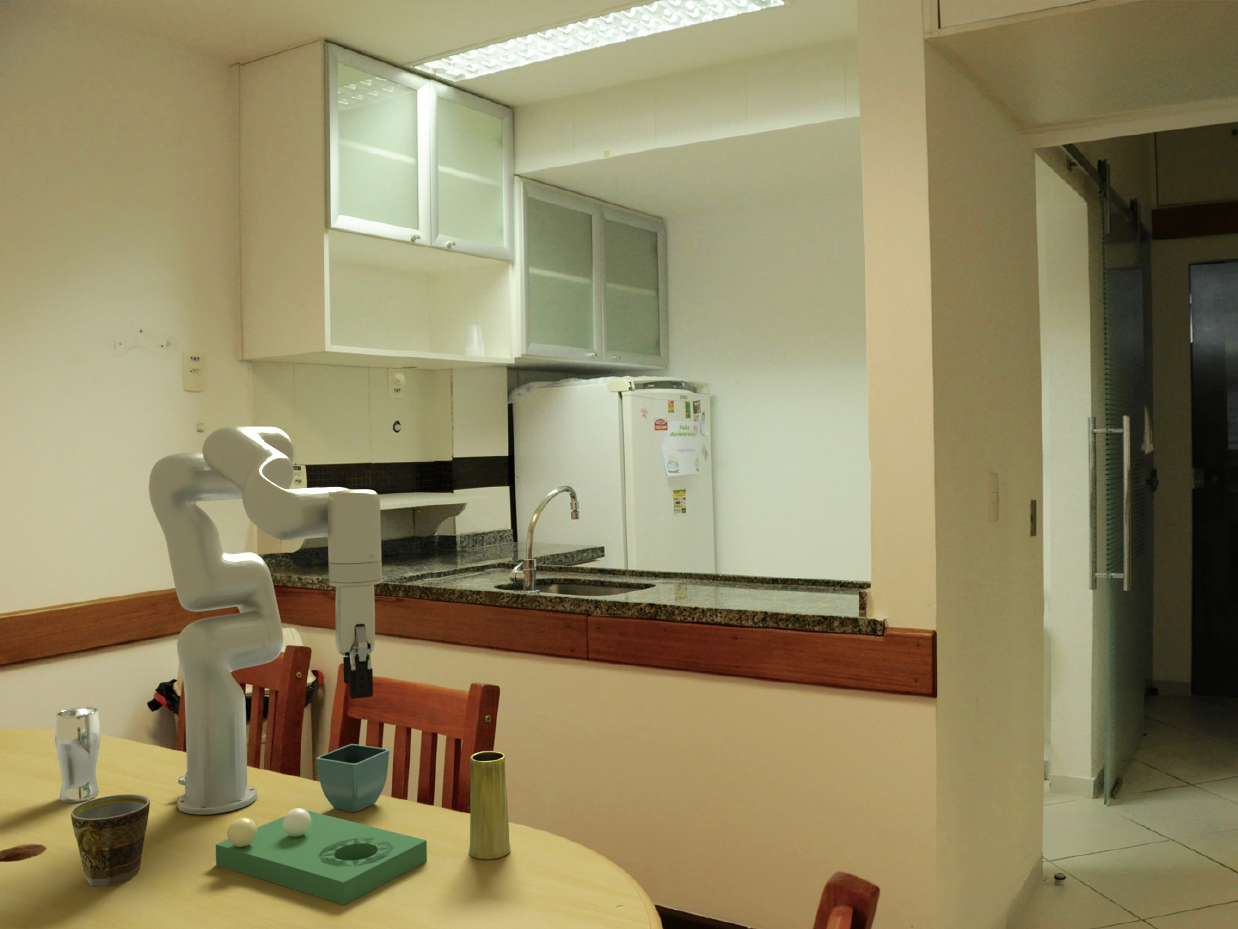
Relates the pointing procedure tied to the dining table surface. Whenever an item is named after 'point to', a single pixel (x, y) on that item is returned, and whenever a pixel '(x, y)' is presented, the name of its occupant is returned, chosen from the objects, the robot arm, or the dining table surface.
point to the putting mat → (325, 857)
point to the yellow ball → (242, 832)
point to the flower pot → (353, 776)
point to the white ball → (297, 822)
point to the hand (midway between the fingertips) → (358, 689)
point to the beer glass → (78, 752)
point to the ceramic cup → (111, 837)
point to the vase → (488, 806)
